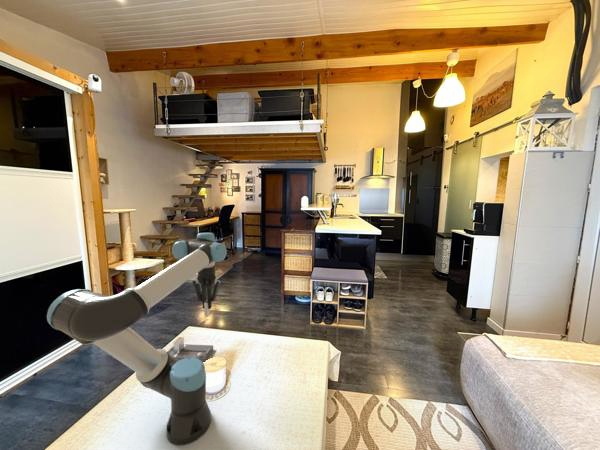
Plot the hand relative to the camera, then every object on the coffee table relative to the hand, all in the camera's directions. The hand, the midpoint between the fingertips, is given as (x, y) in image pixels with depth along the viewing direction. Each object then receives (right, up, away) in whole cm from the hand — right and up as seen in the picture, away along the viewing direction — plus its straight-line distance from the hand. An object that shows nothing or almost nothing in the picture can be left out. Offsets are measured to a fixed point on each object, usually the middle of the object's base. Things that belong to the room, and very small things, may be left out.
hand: (207, 314), depth 114 cm
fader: (-22, -26, +18) cm, 39 cm away
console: (-17, -29, +18) cm, 38 cm away
